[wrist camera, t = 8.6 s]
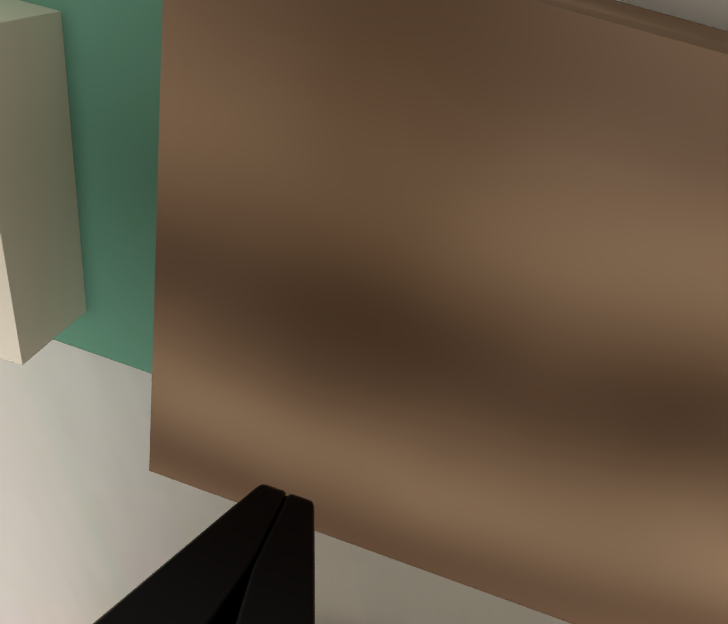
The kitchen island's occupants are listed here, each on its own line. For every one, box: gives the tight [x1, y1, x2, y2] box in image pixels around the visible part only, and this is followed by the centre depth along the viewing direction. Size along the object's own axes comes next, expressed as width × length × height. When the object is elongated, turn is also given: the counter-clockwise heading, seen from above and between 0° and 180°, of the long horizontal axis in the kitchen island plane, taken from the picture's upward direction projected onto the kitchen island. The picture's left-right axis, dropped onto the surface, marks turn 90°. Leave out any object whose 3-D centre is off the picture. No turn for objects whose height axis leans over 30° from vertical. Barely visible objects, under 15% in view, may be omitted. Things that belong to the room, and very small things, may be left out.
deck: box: [149, 0, 728, 624], centre depth 15 cm, size 14×16×4 cm
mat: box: [20, 0, 163, 373], centre depth 18 cm, size 14×12×1 cm
